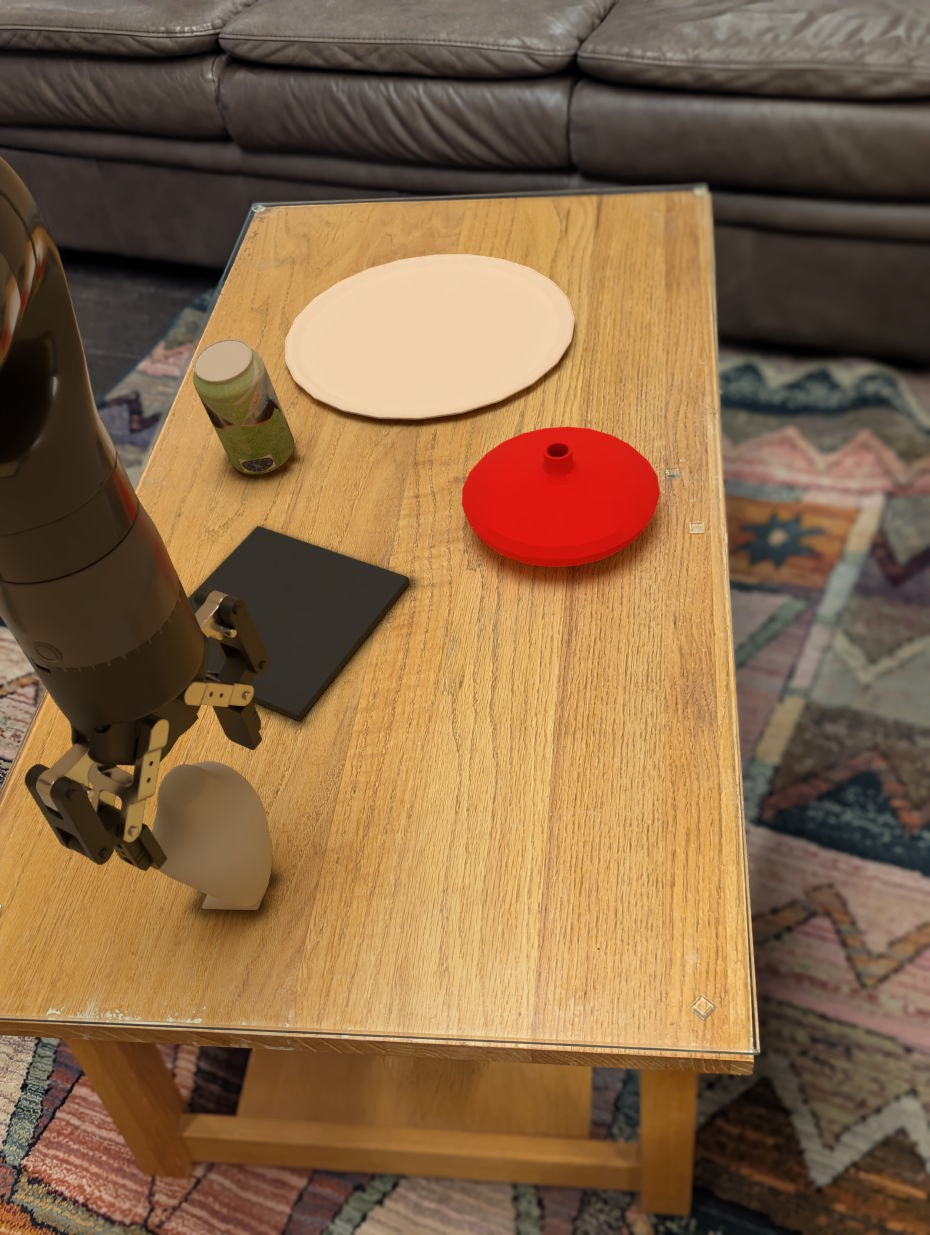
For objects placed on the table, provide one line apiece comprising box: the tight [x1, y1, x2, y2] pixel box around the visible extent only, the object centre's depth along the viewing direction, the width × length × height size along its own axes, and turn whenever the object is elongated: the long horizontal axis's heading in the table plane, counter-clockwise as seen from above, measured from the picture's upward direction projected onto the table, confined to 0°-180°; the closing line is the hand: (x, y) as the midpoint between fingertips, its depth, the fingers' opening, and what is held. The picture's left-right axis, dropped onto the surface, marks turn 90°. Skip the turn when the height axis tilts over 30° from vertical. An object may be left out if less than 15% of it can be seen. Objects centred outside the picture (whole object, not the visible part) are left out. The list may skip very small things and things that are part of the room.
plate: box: [284, 253, 576, 420], centre depth 108 cm, size 29×29×1 cm
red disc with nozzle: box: [461, 426, 661, 568], centre depth 85 cm, size 16×16×7 cm
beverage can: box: [192, 338, 295, 475], centre depth 93 cm, size 6×7×12 cm
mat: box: [188, 525, 411, 722], centre depth 83 cm, size 15×15×1 cm
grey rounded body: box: [151, 760, 273, 911], centre depth 63 cm, size 8×5×12 cm
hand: (199, 798), depth 60 cm, fingers open, 8 cm apart
